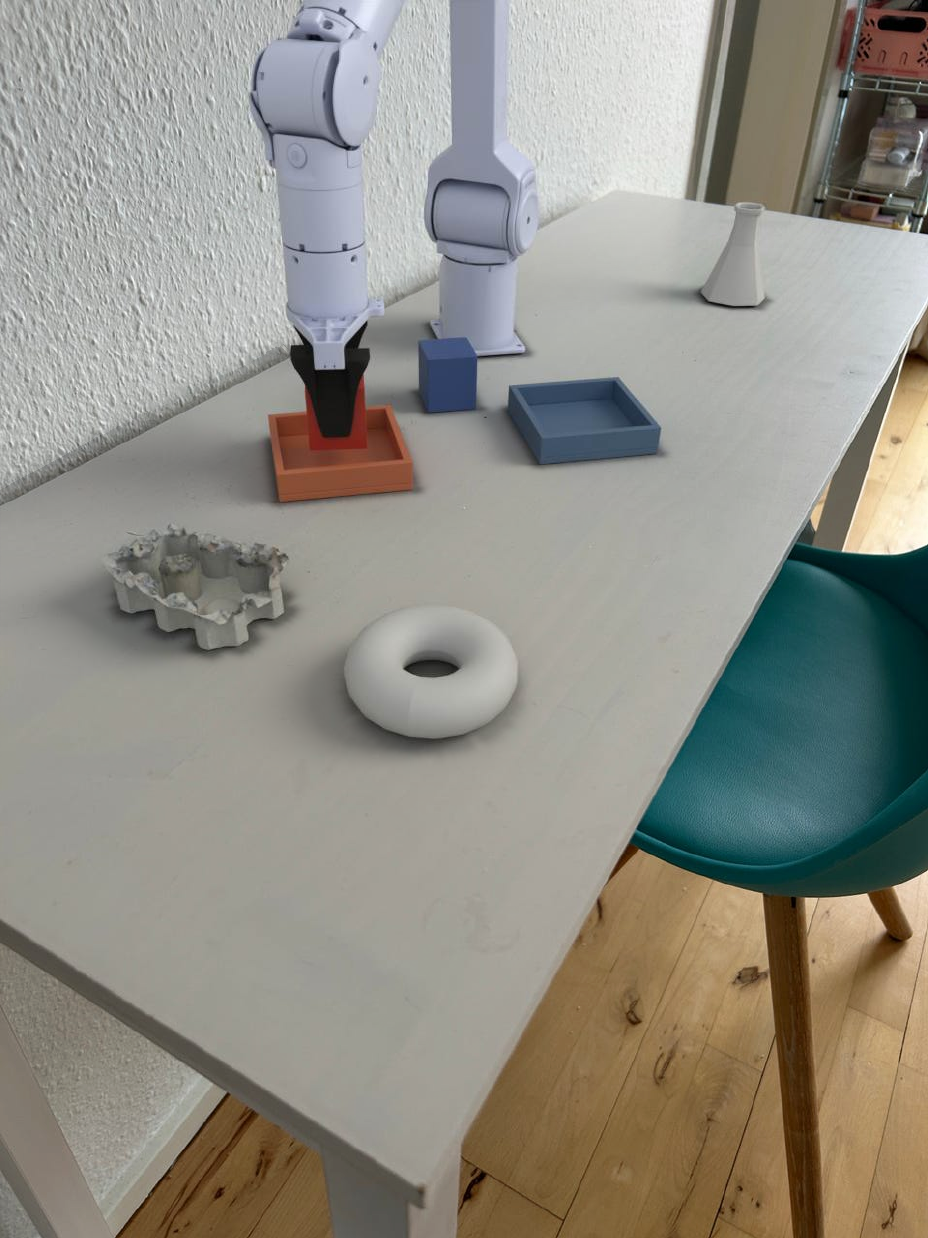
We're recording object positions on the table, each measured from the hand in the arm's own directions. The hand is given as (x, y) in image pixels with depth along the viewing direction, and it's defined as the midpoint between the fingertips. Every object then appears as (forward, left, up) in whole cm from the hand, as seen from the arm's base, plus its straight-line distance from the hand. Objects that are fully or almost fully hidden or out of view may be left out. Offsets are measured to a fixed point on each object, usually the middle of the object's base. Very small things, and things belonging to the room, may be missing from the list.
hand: (336, 421), depth 74 cm
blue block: (-10, +11, -4) cm, 15 cm away
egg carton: (+17, -11, -4) cm, 21 cm away
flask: (-31, +49, -4) cm, 58 cm away
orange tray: (0, 0, -4) cm, 4 cm away
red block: (0, 0, -1) cm, 1 cm away
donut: (+28, +2, -4) cm, 28 cm away
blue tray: (-2, +21, -4) cm, 21 cm away
